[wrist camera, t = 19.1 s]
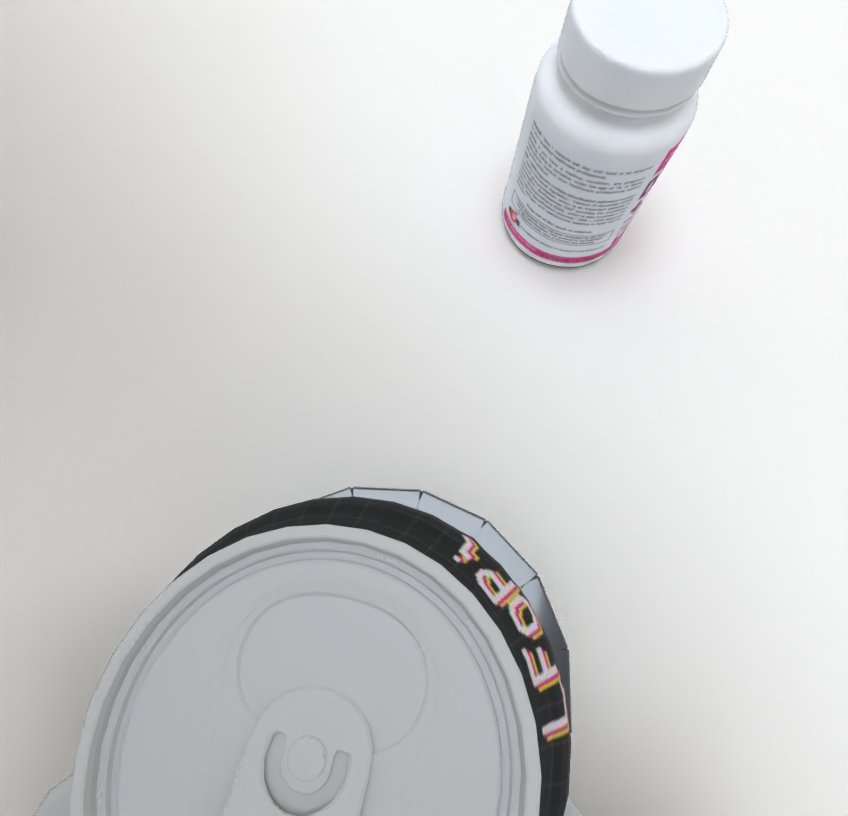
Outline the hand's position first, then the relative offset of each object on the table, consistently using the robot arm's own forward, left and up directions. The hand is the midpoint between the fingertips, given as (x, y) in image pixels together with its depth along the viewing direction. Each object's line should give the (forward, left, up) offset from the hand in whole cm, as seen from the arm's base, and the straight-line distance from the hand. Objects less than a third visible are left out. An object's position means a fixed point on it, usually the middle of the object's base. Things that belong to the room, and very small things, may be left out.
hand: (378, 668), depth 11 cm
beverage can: (0, -1, -6) cm, 6 cm away
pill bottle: (+6, +15, -7) cm, 18 cm away
